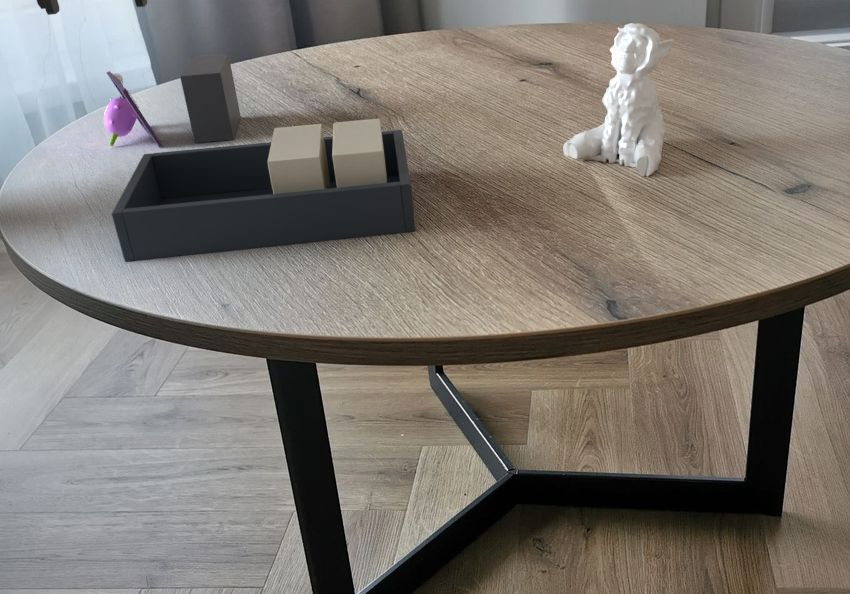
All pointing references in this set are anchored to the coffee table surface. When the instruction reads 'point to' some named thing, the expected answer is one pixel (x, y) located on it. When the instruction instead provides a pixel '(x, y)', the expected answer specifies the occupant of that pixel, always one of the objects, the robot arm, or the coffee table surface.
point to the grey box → (211, 98)
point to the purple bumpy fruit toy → (124, 113)
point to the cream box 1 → (298, 159)
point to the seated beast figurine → (628, 106)
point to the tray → (251, 203)
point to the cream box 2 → (358, 153)
